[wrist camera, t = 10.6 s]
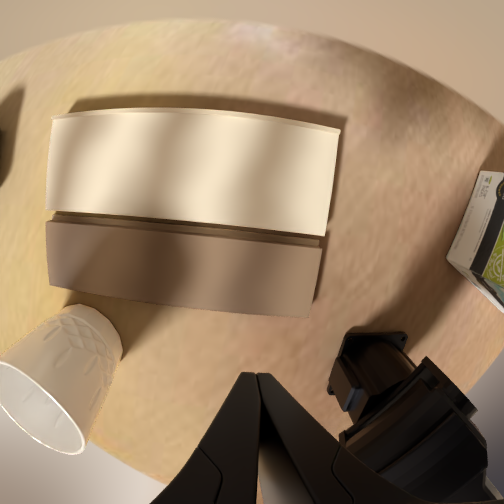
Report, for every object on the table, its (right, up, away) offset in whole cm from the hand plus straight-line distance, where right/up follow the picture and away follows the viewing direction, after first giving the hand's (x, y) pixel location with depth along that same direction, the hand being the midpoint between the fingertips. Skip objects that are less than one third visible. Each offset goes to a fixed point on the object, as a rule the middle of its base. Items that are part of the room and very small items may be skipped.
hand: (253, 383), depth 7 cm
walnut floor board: (-6, +3, +11) cm, 13 cm away
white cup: (-14, -4, +13) cm, 19 cm away
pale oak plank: (-5, +9, +10) cm, 14 cm away
